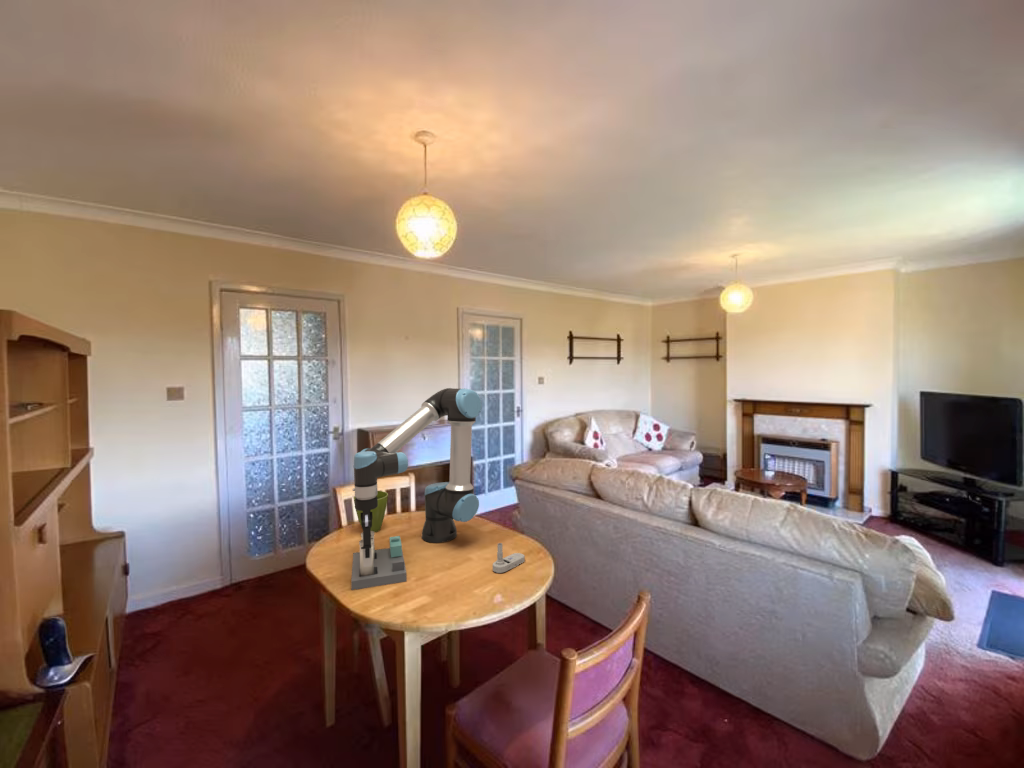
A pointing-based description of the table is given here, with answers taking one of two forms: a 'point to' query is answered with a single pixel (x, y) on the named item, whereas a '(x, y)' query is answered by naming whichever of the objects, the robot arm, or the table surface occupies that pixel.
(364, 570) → the cream peg
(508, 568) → the electronic device
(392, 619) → the table surface
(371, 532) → the white cylinder
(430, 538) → the robot arm
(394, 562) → the housing
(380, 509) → the flower pot
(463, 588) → the table surface
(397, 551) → the lid
